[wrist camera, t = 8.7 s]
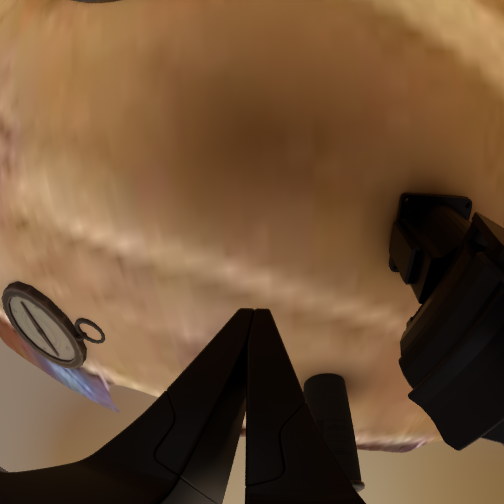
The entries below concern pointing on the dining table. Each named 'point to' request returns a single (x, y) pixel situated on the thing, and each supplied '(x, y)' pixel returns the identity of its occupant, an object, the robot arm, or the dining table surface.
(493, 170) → the dining table surface
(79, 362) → the compass
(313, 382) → the drinking cup
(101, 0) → the base plate
